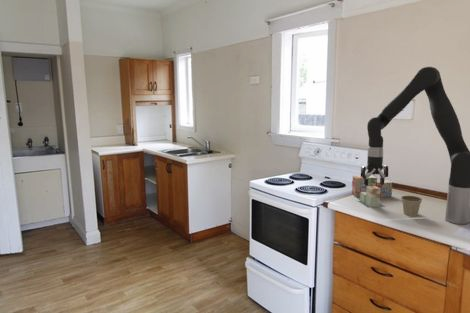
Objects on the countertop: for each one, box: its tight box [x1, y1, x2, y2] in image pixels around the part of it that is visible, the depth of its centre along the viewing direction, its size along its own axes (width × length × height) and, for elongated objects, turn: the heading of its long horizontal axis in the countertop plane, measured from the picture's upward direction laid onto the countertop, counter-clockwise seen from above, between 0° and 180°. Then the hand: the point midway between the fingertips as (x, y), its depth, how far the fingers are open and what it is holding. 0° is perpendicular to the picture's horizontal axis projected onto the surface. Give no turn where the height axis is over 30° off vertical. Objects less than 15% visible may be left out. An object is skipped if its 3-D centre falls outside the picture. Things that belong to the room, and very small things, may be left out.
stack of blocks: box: [351, 174, 393, 198], centre depth 199 cm, size 21×6×12 cm, turn 88°
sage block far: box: [359, 192, 366, 203], centre depth 187 cm, size 5×5×5 cm
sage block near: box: [366, 196, 381, 208], centre depth 181 cm, size 5×5×5 cm
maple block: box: [366, 186, 381, 198], centre depth 180 cm, size 5×5×5 cm
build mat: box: [357, 200, 386, 209], centre depth 184 cm, size 10×12×1 cm
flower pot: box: [400, 195, 423, 217], centre depth 167 cm, size 9×9×9 cm
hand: (374, 185), depth 179 cm, fingers open, 8 cm apart
